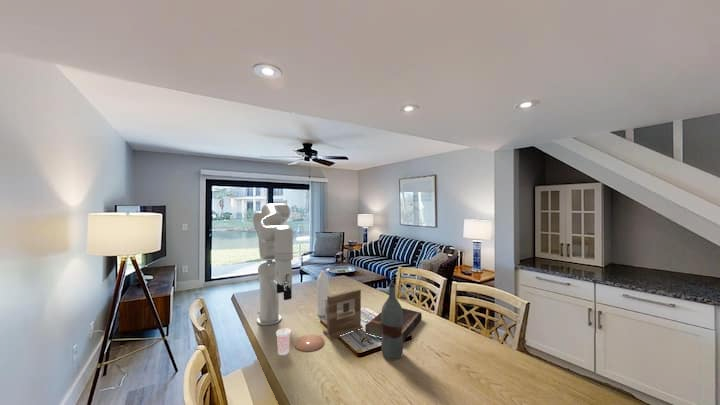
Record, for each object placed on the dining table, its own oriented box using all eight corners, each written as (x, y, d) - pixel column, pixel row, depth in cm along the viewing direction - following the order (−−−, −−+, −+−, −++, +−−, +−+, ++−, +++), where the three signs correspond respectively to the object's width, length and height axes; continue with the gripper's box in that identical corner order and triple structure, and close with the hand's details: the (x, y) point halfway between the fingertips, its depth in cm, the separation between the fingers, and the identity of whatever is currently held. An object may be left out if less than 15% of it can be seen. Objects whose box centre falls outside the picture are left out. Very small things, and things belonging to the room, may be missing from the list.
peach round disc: (288, 345, 124) (288, 343, 124) (309, 333, 134) (309, 332, 134) (309, 354, 116) (309, 352, 116) (329, 341, 127) (329, 340, 127)
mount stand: (321, 331, 136) (321, 292, 136) (352, 322, 146) (352, 285, 146) (330, 339, 128) (330, 298, 128) (362, 329, 139) (362, 290, 138)
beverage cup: (285, 346, 122) (285, 315, 122) (293, 351, 119) (293, 319, 118) (273, 352, 118) (272, 320, 118) (281, 357, 114) (281, 324, 114)
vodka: (387, 363, 110) (387, 288, 110) (377, 351, 118) (377, 282, 118) (407, 357, 114) (407, 285, 113) (396, 346, 122) (396, 279, 122)
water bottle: (323, 317, 152) (323, 272, 152) (314, 314, 156) (314, 270, 156) (333, 312, 159) (333, 269, 159) (325, 309, 163) (325, 267, 163)
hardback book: (401, 345, 124) (401, 335, 124) (365, 335, 134) (365, 325, 133) (421, 321, 149) (421, 312, 149) (389, 313, 158) (389, 305, 158)
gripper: (269, 253, 123) (269, 291, 123) (281, 261, 108) (281, 304, 109) (286, 252, 127) (286, 288, 127) (299, 258, 112) (299, 300, 113)
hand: (283, 295), depth 118 cm, fingers open, 9 cm apart
